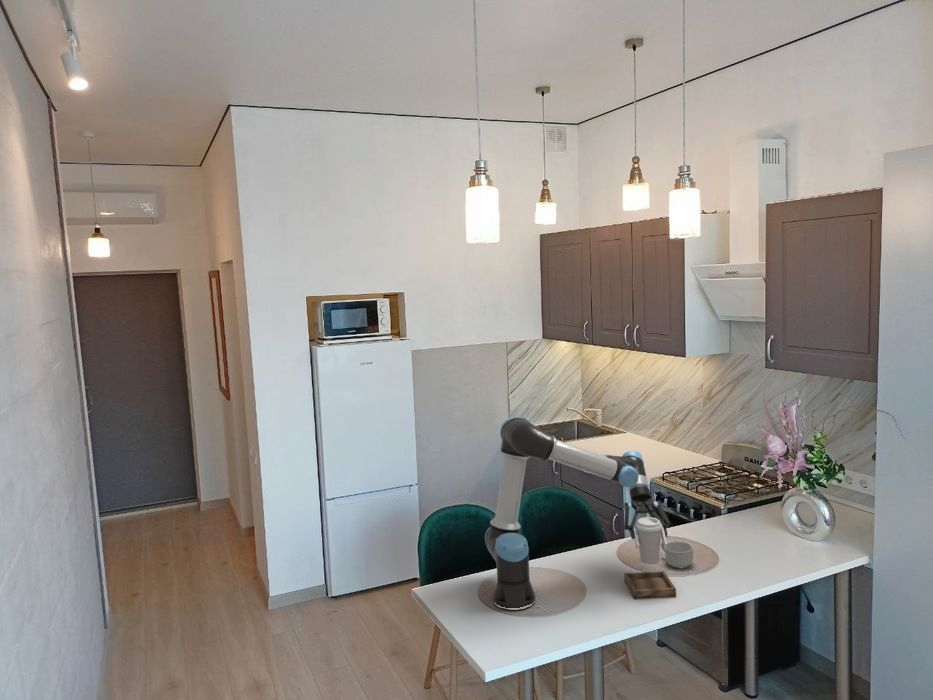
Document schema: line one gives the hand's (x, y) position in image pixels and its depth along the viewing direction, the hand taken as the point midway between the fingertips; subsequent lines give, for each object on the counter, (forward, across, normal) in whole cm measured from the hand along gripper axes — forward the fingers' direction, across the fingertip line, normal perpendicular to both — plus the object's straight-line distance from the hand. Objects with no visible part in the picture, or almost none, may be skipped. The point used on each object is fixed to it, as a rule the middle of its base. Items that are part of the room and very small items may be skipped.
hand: (651, 546), depth 250 cm
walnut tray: (+10, 0, -14) cm, 18 cm away
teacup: (-4, -16, -29) cm, 33 cm away
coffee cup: (+3, 0, -7) cm, 8 cm away
